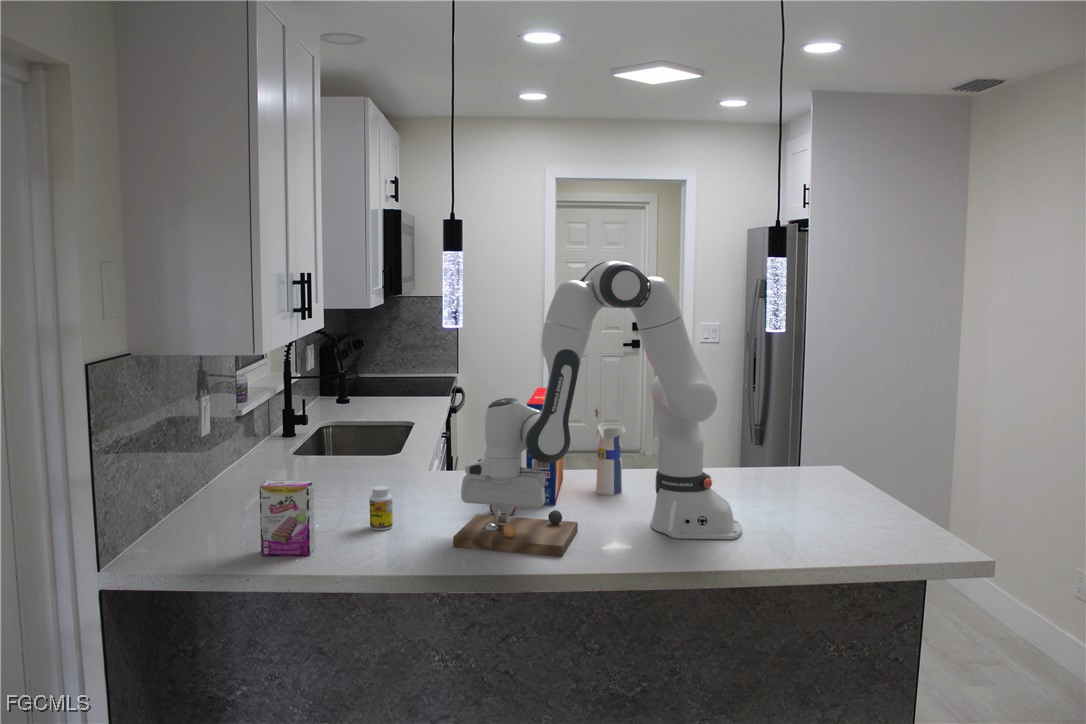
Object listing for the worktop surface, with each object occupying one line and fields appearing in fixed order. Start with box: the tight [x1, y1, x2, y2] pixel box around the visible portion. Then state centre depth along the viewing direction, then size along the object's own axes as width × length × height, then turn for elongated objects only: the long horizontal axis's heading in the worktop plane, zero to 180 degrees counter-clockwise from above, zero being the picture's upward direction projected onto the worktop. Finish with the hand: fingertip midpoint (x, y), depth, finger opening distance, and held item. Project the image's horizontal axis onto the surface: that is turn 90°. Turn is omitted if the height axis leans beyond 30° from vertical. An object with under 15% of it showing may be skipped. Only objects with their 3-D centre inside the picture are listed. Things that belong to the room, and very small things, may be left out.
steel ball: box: [484, 523, 498, 531], centre depth 206 cm, size 3×3×3 cm
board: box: [452, 513, 579, 557], centre depth 205 cm, size 26×18×2 cm
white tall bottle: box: [594, 406, 626, 496], centre depth 245 cm, size 8×9×25 cm
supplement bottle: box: [369, 485, 394, 532], centre depth 212 cm, size 6×6×10 cm
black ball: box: [547, 509, 563, 524], centre depth 209 cm, size 3×3×3 cm
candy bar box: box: [259, 480, 316, 557], centre depth 194 cm, size 11×5×16 cm, turn 92°
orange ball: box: [504, 525, 517, 538], centre depth 198 cm, size 3×3×3 cm
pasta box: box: [525, 387, 564, 506], centre depth 246 cm, size 28×8×28 cm, turn 174°
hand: (503, 522), depth 205 cm, fingers closed
